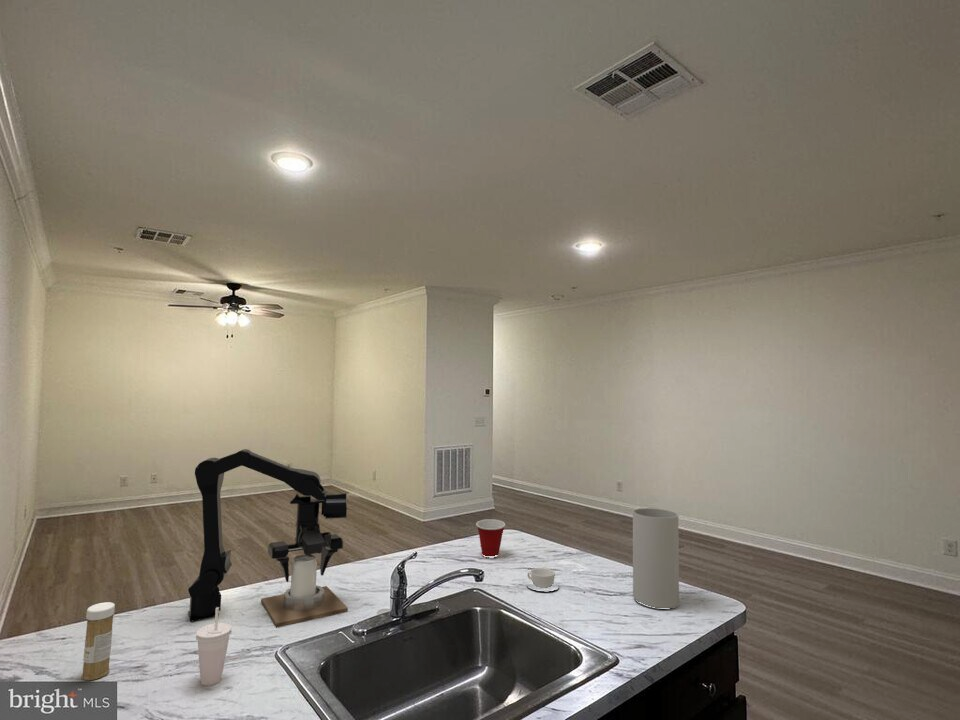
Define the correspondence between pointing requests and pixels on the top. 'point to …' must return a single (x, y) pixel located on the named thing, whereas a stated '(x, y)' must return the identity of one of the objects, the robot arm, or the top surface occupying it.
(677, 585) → the cylinder vase
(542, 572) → the teacup
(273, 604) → the base plate
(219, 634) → the smoothie
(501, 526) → the plastic cup
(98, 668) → the sprinkles bottle
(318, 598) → the ring collar
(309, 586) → the can
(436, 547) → the top surface
